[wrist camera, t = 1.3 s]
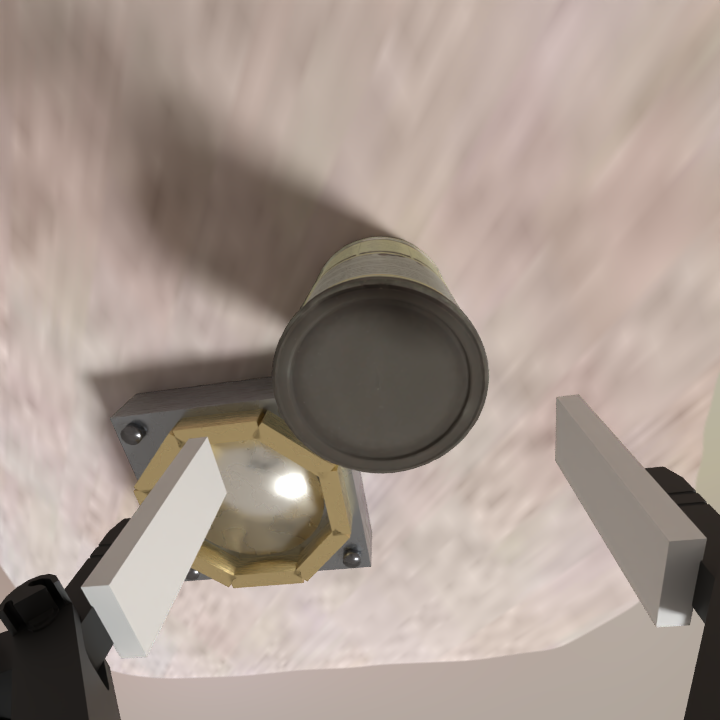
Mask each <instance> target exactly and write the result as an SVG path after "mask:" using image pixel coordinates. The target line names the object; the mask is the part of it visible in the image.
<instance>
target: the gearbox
mask: <svg viewBox="0 0 720 720" xmlns="http://www.w3.org/2000/svg"><path fill="white" fill-rule="evenodd" d="M110 420H111V422H112V424H113V426H114V429H115V431H116V433H117V435H118V438H119V440H120V442H121V444H122V446H123V449H124V451H125V453H126V455H127V458H128V460H129V462H130V464H131V467H132V469H133V471H134V473H135V476H136V478H137V480H138V482H137V483H136V485H135V486H134V488H135V490H134V494H135V496H136V498H137V500H138V502H139V505H141V504H142V502H143V501H144V500H145V498H146V497H147V496H148V494H149V493H150V491H151V490H152V489H153V487H154V486H155V485H156V483H157V482H158V480H159V479H160V478H161V476H162V475H163V474H164V472H165V471H166V469H167V468H168V467H169V465H170V464H171V463H172V461H173V460H174V458H175V457H176V456H177V454H178V453H179V452H180V450H181V449H182V447H183V446H184V445H185V443H186V442H187V441H188V439H191V438H200V437H208V440H209V443H210V446H211V448H212V451H213V454H214V457H215V460H216V463H217V466H218V469H219V472H220V475H221V477H222V480H223V483H224V486H225V489H226V492H227V494H226V496H225V498H224V500H223V502H222V504H221V506H220V508H219V510H218V512H217V514H216V516H215V518H214V520H213V523H212V525H211V527H210V529H209V531H208V533H207V535H206V537H205V539H204V541H203V543H202V545H201V547H200V549H199V551H198V553H197V556H196V558H195V560H194V562H193V564H192V566H191V568H190V570H189V572H188V574H187V576H186V578H185V580H184V581H193V580H206V579H214V580H216V581H218V582H220V583H222V584H224V585H225V586H227V587H229V586H230V585H231V584H232V586H233V588H241V587H255V586H268V585H281V584H294V583H304V580H306V581H308V580H309V579H310V578H311V577H312V576H313V575H314V574H315V573H316V572H317V571H321V570H334V569H347V568H360V567H371V555H372V530H371V525H370V520H369V514H368V509H367V504H366V499H365V494H364V489H363V483H362V478H361V473H360V471H356V470H352V469H348V468H344V467H341V466H339V465H336V464H333V463H331V462H329V461H327V460H325V459H323V458H321V457H320V456H318V455H317V454H315V453H313V452H312V451H311V450H310V449H308V448H307V447H306V446H305V445H304V444H303V443H302V442H301V441H300V440H299V439H298V438H297V437H296V436H295V435H294V434H293V433H292V431H291V430H290V428H289V427H288V426H287V424H286V423H285V421H284V419H283V417H282V416H281V414H280V412H279V409H278V406H277V403H276V400H275V397H274V391H273V384H272V377H267V378H259V379H251V380H244V381H236V382H228V383H220V384H212V385H204V386H196V387H188V388H180V389H172V390H164V391H157V392H149V393H141V394H136V395H135V396H134V397H133V398H131V399H130V400H129V401H128V402H127V403H126V404H125V405H124V406H123V407H122V408H121V409H119V410H118V411H117V412H116V413H115V414H114V415H113V416H112V417H111V418H110Z"/></svg>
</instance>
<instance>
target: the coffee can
mask: <svg viewBox="0 0 720 720" xmlns="http://www.w3.org/2000/svg"><path fill="white" fill-rule="evenodd" d="M488 383H489V369H488V360H487V356H486V353H485V349H484V346H483V343H482V341H481V339H480V337H479V335H478V333H477V331H476V329H475V328H474V326H473V324H472V323H471V321H470V320H469V319H468V317H467V316H466V315H465V314H464V313H463V311H462V310H461V309H460V308H459V306H458V304H457V303H456V301H455V299H454V298H453V296H452V294H451V293H450V291H449V289H448V288H447V286H446V284H445V283H444V281H443V279H442V276H441V274H440V272H439V270H438V269H437V267H436V265H435V264H434V263H433V262H432V260H431V259H430V258H429V257H428V256H427V255H426V254H425V253H424V252H423V251H421V250H420V249H418V248H417V247H415V246H414V245H412V244H410V243H408V242H406V241H403V240H400V239H397V238H390V237H370V238H365V239H361V240H358V241H355V242H353V243H351V244H348V245H346V246H345V247H343V248H342V249H341V250H339V251H338V252H336V253H335V254H334V255H333V256H332V257H331V258H330V259H329V260H328V262H327V263H326V264H325V266H324V267H323V269H322V271H321V272H320V274H319V276H318V279H317V281H316V283H315V284H314V286H313V288H312V290H311V291H310V293H309V295H308V296H307V298H306V300H305V302H304V303H303V305H302V307H301V308H300V310H299V311H298V312H297V313H296V314H295V316H294V317H293V318H292V319H291V321H290V322H289V324H288V325H287V327H286V328H285V330H284V332H283V334H282V336H281V338H280V340H279V342H278V345H277V348H276V352H275V355H274V361H273V371H272V384H273V391H274V397H275V400H276V403H277V406H278V409H279V412H280V414H281V416H282V417H283V419H284V421H285V423H286V424H287V426H288V427H289V428H290V430H291V431H292V433H293V434H294V435H295V436H296V437H297V438H298V439H299V440H300V441H301V442H302V443H303V444H304V445H305V446H306V447H307V448H308V449H310V450H311V451H312V452H313V453H315V454H317V455H318V456H320V457H321V458H323V459H325V460H327V461H329V462H331V463H333V464H336V465H339V466H341V467H344V468H348V469H352V470H356V471H361V472H368V473H395V472H401V471H406V470H410V469H414V468H417V467H420V466H422V465H425V464H428V463H430V462H432V461H433V460H436V459H438V458H440V457H441V456H443V455H445V454H446V453H447V452H449V451H450V450H451V449H453V448H454V447H455V446H456V445H458V444H459V443H460V442H461V441H462V440H463V439H464V437H465V436H466V435H467V434H468V433H469V431H470V430H471V429H472V427H473V426H474V424H475V423H476V421H477V420H478V418H479V416H480V413H481V411H482V409H483V406H484V403H485V400H486V396H487V390H488Z"/></svg>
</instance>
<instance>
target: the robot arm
mask: <svg viewBox="0 0 720 720" xmlns="http://www.w3.org/2000/svg"><path fill="white" fill-rule="evenodd" d="M555 461H556V463H557V464H558V466H559V467H560V469H561V471H562V472H563V474H564V476H565V477H566V479H567V481H568V482H569V484H570V486H571V487H572V489H573V491H574V492H575V494H576V496H577V497H578V499H579V501H580V502H581V504H582V506H583V507H584V509H585V511H586V512H587V514H588V515H589V517H590V519H591V520H592V522H593V524H594V525H595V527H596V529H597V530H598V532H599V534H600V535H601V537H602V539H603V540H604V542H605V544H606V545H607V547H608V549H609V550H610V552H611V554H612V555H613V557H614V558H615V560H616V562H617V563H618V565H619V567H620V568H621V570H622V572H623V573H624V575H625V577H626V578H627V580H628V582H629V583H630V585H631V587H632V588H633V590H634V592H635V593H636V595H637V597H638V598H639V600H640V601H641V603H642V605H643V606H644V608H645V610H646V611H647V613H648V615H649V616H650V618H651V620H652V621H653V623H654V625H655V626H656V627H667V626H683V625H690V622H691V616H692V611H693V608H694V609H695V611H696V612H697V614H698V615H699V616H700V618H701V619H702V620H703V622H704V623H705V626H704V631H703V635H702V640H701V644H700V649H699V653H698V658H697V662H696V667H695V672H694V676H693V681H692V685H691V690H690V694H689V699H688V703H687V708H686V712H685V717H684V720H720V515H719V514H718V513H717V512H716V511H715V510H714V509H713V508H712V507H711V506H710V505H709V504H707V503H706V501H705V500H704V499H703V498H702V497H701V496H700V495H699V494H698V493H696V491H695V490H694V489H693V488H692V487H691V485H690V484H689V483H688V482H687V481H686V480H685V479H684V478H683V477H681V476H679V475H677V474H676V473H674V472H672V471H670V470H669V469H667V468H665V467H654V468H644V467H643V466H642V465H641V464H640V463H639V462H638V461H637V459H636V458H635V457H634V456H633V455H632V454H631V453H630V452H629V450H628V449H627V448H626V447H625V446H624V445H623V444H622V443H621V441H620V440H619V439H618V438H617V437H616V436H615V435H614V434H613V432H612V431H611V430H610V429H609V428H608V427H607V426H606V425H605V423H604V422H603V421H602V420H601V419H600V418H599V417H598V416H597V415H596V413H595V412H594V411H593V410H592V409H591V408H590V407H589V406H588V404H587V403H586V402H585V401H584V400H583V399H582V398H581V397H580V395H571V396H562V397H557V398H556V451H555ZM226 494H227V492H226V489H225V486H224V483H223V480H222V477H221V475H220V472H219V469H218V466H217V463H216V460H215V457H214V454H213V451H212V448H211V446H210V443H209V440H208V437H200V438H191V439H188V441H187V442H186V443H185V445H184V446H183V447H182V449H181V450H180V452H179V453H178V454H177V456H176V457H175V458H174V460H173V461H172V463H171V464H170V465H169V467H168V468H167V469H166V471H165V472H164V474H163V475H162V476H161V478H160V479H159V480H158V482H157V483H156V485H155V486H154V487H153V489H152V490H151V491H150V493H149V494H148V496H147V497H146V498H145V500H144V501H143V502H142V504H141V505H140V507H139V508H138V509H137V511H136V512H135V513H134V515H133V516H132V518H127V519H123V520H122V521H121V522H119V523H118V524H117V525H116V526H115V527H113V528H112V529H111V530H110V531H109V532H108V533H107V534H106V536H105V537H104V538H103V540H102V541H101V542H100V544H99V547H97V548H96V549H95V550H94V551H93V553H92V554H91V555H90V558H88V559H87V561H86V562H85V563H84V565H83V566H82V567H81V569H80V570H79V571H78V572H77V574H76V575H75V576H74V578H73V579H72V580H71V582H70V583H69V584H68V586H67V587H66V588H65V590H64V588H63V587H62V585H61V583H60V581H59V580H58V578H57V576H56V575H52V574H46V575H40V576H37V577H35V578H33V579H30V580H28V581H26V582H25V583H23V584H22V585H20V586H18V587H17V588H16V589H14V590H13V591H12V592H11V593H10V594H9V595H8V596H7V597H6V598H5V599H4V600H3V602H2V603H1V604H0V619H1V620H2V622H3V623H4V625H5V626H6V628H7V629H8V631H5V632H3V633H0V720H121V719H120V714H119V709H118V705H117V700H116V695H115V690H114V685H113V682H112V676H111V671H110V666H109V665H108V663H107V661H106V660H105V658H106V656H107V654H108V652H109V651H110V649H111V647H112V645H114V647H115V649H116V651H117V652H118V654H119V656H120V658H121V659H124V658H141V657H148V654H149V652H150V650H151V648H152V646H153V644H154V642H155V640H156V638H157V636H158V634H159V632H160V630H161V628H162V626H163V624H164V621H165V619H166V617H167V615H168V613H169V611H170V609H171V607H172V605H173V603H174V601H175V599H176V597H177V595H178V593H179V591H180V589H181V586H182V584H183V582H184V580H185V578H186V576H187V574H188V572H189V570H190V568H191V566H192V564H193V562H194V560H195V558H196V556H197V553H198V551H199V549H200V547H201V545H202V543H203V541H204V539H205V537H206V535H207V533H208V531H209V529H210V527H211V525H212V523H213V520H214V518H215V516H216V514H217V512H218V510H219V508H220V506H221V504H222V502H223V500H224V498H225V496H226Z"/></svg>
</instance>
